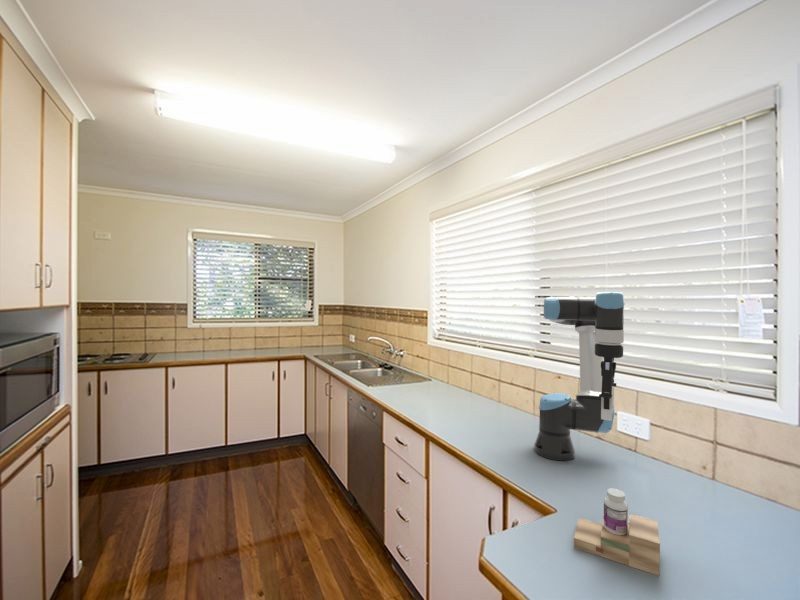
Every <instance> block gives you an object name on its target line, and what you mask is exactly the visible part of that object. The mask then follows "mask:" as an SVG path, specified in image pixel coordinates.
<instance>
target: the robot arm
mask: <svg viewBox="0 0 800 600" xmlns="http://www.w3.org/2000/svg"><path fill="white" fill-rule="evenodd" d="M625 305H626V303H625V294H623V292H620V291H619V292H618V291H617V292H616V291H615V292H614V291H613V292H611V291H604V292H603V291H600V292H596V294H595V297H556V296H552V297H546V298H544V299H543V318H544V319H545V320H549V321H550V322H553V323H556V324H559V325H565V326H574V330H575V332H577V333H578V343H579V344H578V345H579V353H578V354H579V392H578V393H577V394H576V395H575V399H573V398H571V396H570V395H569V394H567V393H561V392H560V393H559V392H557V393H555V392H554V393H548V394H545V395H543V396H541V397H540V399H539V406H538V409H539V423H538V428H539V429H538V430H539V432H538V434H537V436H536V439H535V442H534V446H533V447H534V449H533V450H534V452H535V453H536V454H537V455H539V456H541V457H543V458H545V459H549V460H553V461H569V460H573V459H574V458H575V457H576V456H575V455H576V454H575V452H576V451H575V450H576V449H575V447H574V443H573V440H572V437H571V430H574V431H579V432H580V431H581V432H591V433H595V434H598V433H599V434H608V433H610V432H611V431H612V428H613V425H614V420H615V404H614V401H615V400H614V399H615V387H617V382H615V377H616V376H615V374H616V369H617V362H616V361H615V359H620V358H623V356H624V345H623V343H624V337H625V335H624V334H625V330H624V324H625V323H624V315H625Z"/></svg>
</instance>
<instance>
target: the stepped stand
mask: <svg viewBox="0 0 800 600" xmlns="http://www.w3.org/2000/svg"><path fill="white" fill-rule="evenodd" d="M658 523H659V522H658V520H654V519H651V518H647V517H644V516H640V515H636V514H631V513H628V532H627V534H625V535H615V534H612V533H610V532H609V531H607V530H606V529H605V527H604V515H603V516H602V523H599V522H594V521H592V520H589V519H585V518H581V517H578V519H577V524H576V528H575V532H574V535H573V536H574V537H573V548H574V549H578V550H579V551H580V550H581V551H583V552H586V553H590V554H592V555H596V556H599V557H601V558H604V559H607V560H611V561H614V562H617V563H620V564H622V565H626V566H629V567H631V568H634V569H638V570H641V571H643V572H647V573H650V574H652V575H656V576H658V577H660V559H661V558H660V555H661V554H660V553H661V542H660V534H659V533H660V531H659V524H658Z"/></svg>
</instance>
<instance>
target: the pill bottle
mask: <svg viewBox="0 0 800 600" xmlns="http://www.w3.org/2000/svg"><path fill="white" fill-rule="evenodd" d="M603 516H604V527H605V529H606V530H607V531H609V532H610V533H612V534H615V535H625V534H627V532H628V523H629V505H628V502H627V501H626V493H625V492H624V491H622V490H621V489H617V488H613V487H611V488H607V490H606V496H605V498H603Z"/></svg>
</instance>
